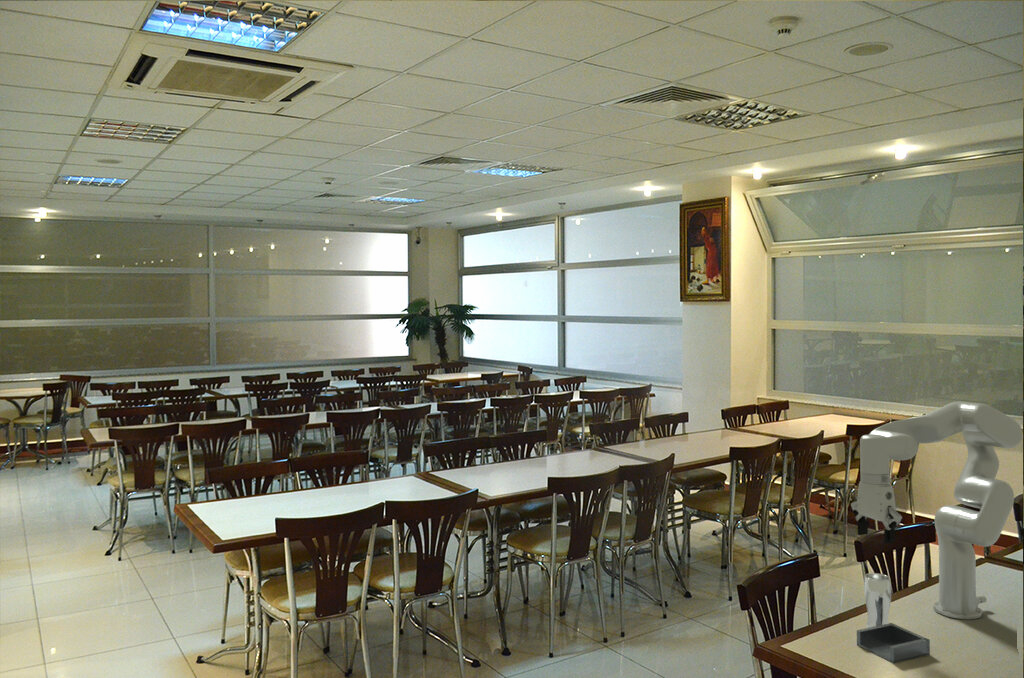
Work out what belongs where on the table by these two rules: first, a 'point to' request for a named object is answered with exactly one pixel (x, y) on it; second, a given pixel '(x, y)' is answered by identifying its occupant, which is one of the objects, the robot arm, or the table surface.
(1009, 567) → the table surface
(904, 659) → the grey tray
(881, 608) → the beer glass
